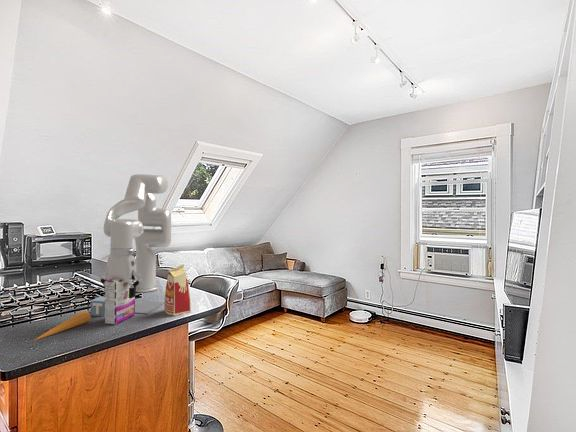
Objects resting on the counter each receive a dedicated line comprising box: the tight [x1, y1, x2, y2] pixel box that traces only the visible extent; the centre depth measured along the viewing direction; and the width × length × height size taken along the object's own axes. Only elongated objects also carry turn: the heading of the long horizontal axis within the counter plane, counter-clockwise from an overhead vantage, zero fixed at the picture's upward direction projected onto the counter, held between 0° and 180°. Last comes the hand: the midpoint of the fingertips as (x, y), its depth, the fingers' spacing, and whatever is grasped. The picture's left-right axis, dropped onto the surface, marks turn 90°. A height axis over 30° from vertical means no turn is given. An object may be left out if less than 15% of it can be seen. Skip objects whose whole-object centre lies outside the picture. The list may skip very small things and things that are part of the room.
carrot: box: [33, 310, 92, 342], centre depth 113 cm, size 20×4×4 cm, turn 162°
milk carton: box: [163, 263, 192, 316], centre depth 136 cm, size 9×9×20 cm
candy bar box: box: [104, 279, 136, 326], centre depth 125 cm, size 11×5×16 cm, turn 168°
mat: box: [135, 300, 164, 315], centre depth 140 cm, size 15×10×1 cm, turn 175°
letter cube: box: [89, 295, 105, 317], centre depth 131 cm, size 6×6×6 cm
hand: (120, 296), depth 124 cm, fingers open, 9 cm apart
